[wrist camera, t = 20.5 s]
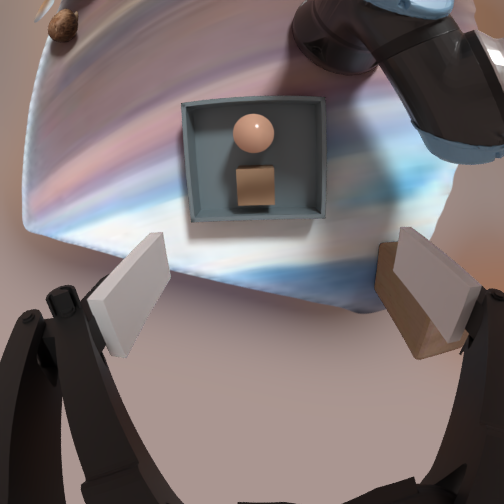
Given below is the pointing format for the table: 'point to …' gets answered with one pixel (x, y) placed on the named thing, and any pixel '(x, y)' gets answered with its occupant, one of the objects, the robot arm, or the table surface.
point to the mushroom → (63, 25)
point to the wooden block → (408, 310)
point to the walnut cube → (255, 185)
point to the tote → (256, 157)
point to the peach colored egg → (253, 133)
